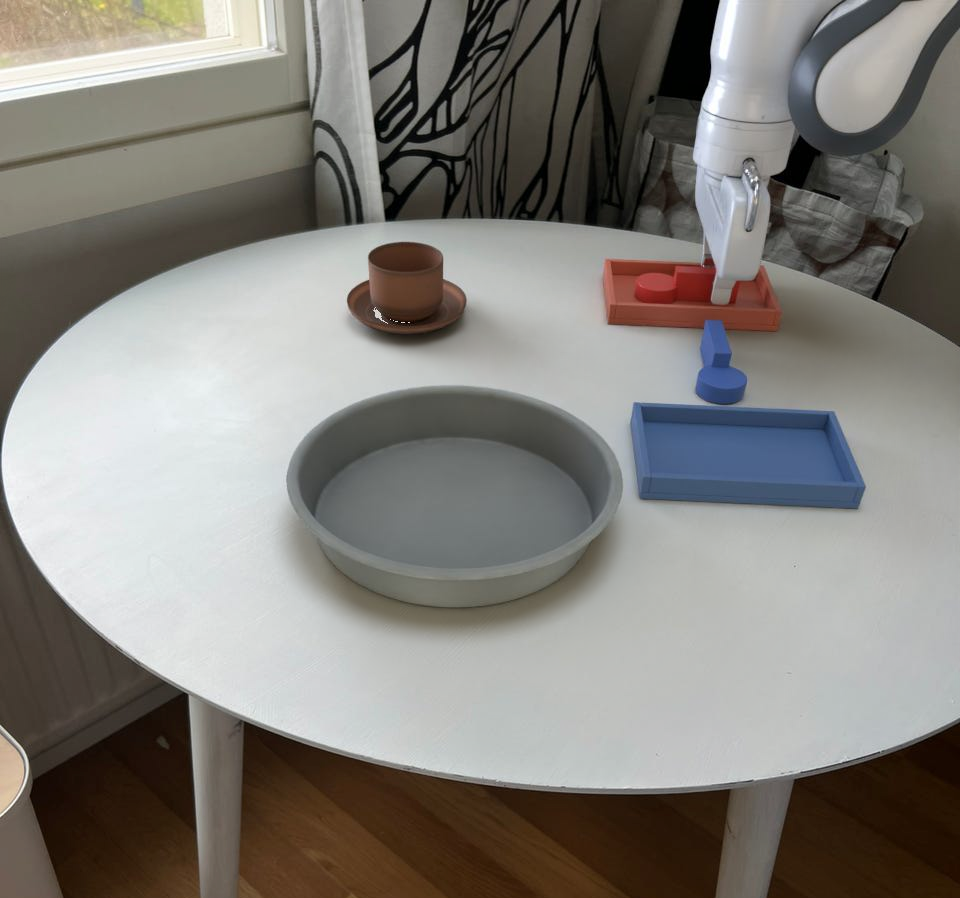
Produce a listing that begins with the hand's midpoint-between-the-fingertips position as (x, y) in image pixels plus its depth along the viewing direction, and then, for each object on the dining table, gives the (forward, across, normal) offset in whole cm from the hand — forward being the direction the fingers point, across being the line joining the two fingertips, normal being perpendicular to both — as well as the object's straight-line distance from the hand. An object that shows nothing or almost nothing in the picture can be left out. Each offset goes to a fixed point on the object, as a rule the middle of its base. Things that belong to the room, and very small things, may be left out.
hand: (713, 286), depth 99 cm
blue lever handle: (+2, -15, +2) cm, 15 cm away
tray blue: (+2, -30, +2) cm, 30 cm away
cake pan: (+2, -39, +24) cm, 46 cm away
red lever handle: (+1, 0, +3) cm, 3 cm away
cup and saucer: (+2, -6, +32) cm, 32 cm away
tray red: (+2, 0, +2) cm, 3 cm away
